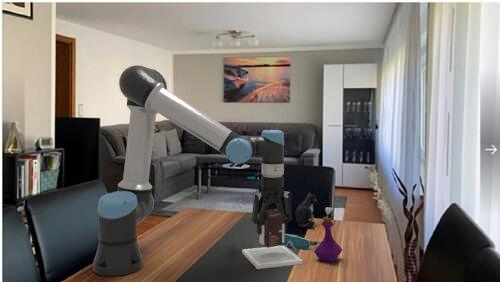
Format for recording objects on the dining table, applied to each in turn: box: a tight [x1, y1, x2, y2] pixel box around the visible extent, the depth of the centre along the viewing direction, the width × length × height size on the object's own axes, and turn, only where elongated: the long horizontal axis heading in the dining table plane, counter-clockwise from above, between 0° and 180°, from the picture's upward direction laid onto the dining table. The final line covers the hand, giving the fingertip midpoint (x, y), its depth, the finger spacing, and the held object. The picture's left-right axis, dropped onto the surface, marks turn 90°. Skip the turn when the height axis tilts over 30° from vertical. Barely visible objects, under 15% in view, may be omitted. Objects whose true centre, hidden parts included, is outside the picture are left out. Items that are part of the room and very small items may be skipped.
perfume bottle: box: [313, 206, 343, 264], centre depth 142 cm, size 8×8×18 cm
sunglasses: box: [281, 233, 323, 251], centre depth 160 cm, size 14×15×5 cm
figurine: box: [294, 191, 317, 230], centre depth 182 cm, size 10×10×15 cm
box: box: [262, 208, 283, 248], centre depth 143 cm, size 6×4×12 cm
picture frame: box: [241, 245, 304, 270], centre depth 144 cm, size 16×16×1 cm
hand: (271, 242), depth 143 cm, fingers closed on box, 7 cm apart
